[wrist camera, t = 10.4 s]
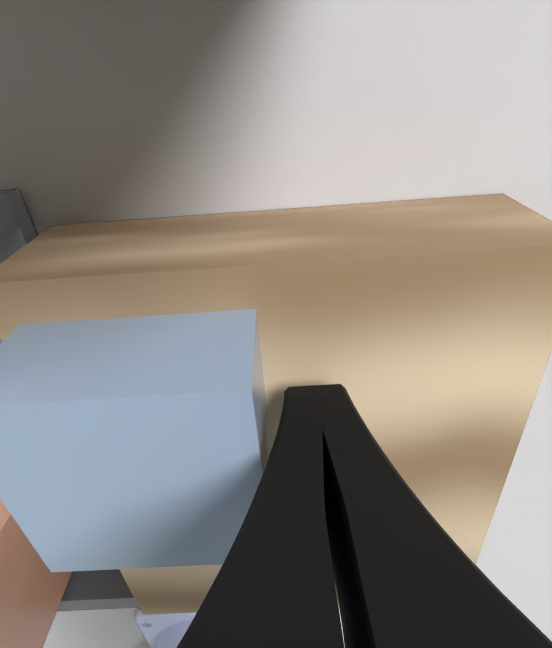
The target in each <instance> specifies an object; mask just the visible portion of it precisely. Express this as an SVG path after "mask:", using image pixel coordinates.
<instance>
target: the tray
mask: <svg viewBox="0 0 552 648" xmlns="http://www.w3.org/2000/svg"><path fill="white" fill-rule="evenodd" d="M36 237H37V234H36V231H35V229H34V226H33V224H32V221H31V219H30V216H29V213H28V211H27V208H26V206H25V203H24V201H23V198H22V196H21V193H20V191H19V189H12V190H0V264H1V263H2V262H3V261H5V260H6V259H7V258H9V257H10V256H11V255H13V254H14V253H15V252H17V251H18V250H20V249H21V248H22V247H24V246H25V245H26V244H28V243H29V242H30V241H32V240H33V239H34V238H36ZM1 343H2V340H1V338H0V344H1ZM116 608H138V605H137V603H136V601H135V599H134V597H133V595H132V593H131V591H130V589H129V587H128V585H127V583H126V581H125V579H124V577H123V576H122V574H121V572H120V570H119V569H114V570H92V571H72V573H71V576H70V579H69V581H68V584H67V586H66V589H65V591H64V594H63V597H62V599H61V602H60V604H59V607H58V609H57V611H71V610H93V609H116Z"/></svg>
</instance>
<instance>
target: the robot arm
mask: <svg viewBox="0 0 552 648" xmlns="http://www.w3.org/2000/svg"><path fill="white" fill-rule="evenodd" d="M335 586H336V588H335ZM336 591H337V595H336ZM337 597H338V601H337ZM338 602H339V608H340V614H341V621H342V627H343V635H344V642H343V636H342V629H341V622H340V615H339V608H338ZM135 620H136V622H137V624H138V626H139V628H140V630H141V632H142V633H143V635H144V637H145V639H146V641H147V643H148V644H149V646H150V648H344V643H345V648H552V641H550V640H549V639H548V638H547V637H546V636H545V635H544V634H543V633H542V632H541V631H540V630H539V629H538V628H537V627H536V626H535V625H534V624H533V623H532V622H531V621H530V620H529V619H528V618H527V617H526V616H525V615H524V614H523V613H522V612H521V611H520V610H519V609H518V608H517V607H516V606H515V605H514V604H513V603H512V602H511V601H510V600H509V599H508V598H507V597H506V596H505V595H504V594H503V593H502V592H501V591H500V590H499V589H498V588H497V587H496V586H495V585H494V584H493V583H492V582H491V581H490V580H489V579H488V578H487V577H486V576H485V574H484V573H483V572H482V571H481V570H480V569H479V568H478V567H477V566H476V565H475V564H474V563H473V562H472V561H471V560H470V558H469V557H468V556H467V555H466V554H465V553H464V552H463V551H462V550H461V548H460V547H459V546H458V545H457V544H456V543H455V542H454V541H453V539H452V538H451V537H450V536H449V535H448V534H447V533H446V532H445V530H444V529H443V528H442V527H441V526H440V524H439V523H438V522H437V521H436V520H435V519H434V517H433V516H432V515H431V514H430V512H429V511H428V510H427V509H426V508H425V506H424V505H423V504H422V503H421V501H420V500H419V499H418V498H417V496H416V495H415V494H414V492H413V491H412V490H411V489H410V487H409V486H408V485H407V483H406V482H405V481H404V479H403V478H402V477H401V475H400V474H399V473H398V471H397V470H396V469H395V467H394V466H393V464H392V463H391V462H390V460H389V459H388V457H387V456H386V454H385V453H384V452H383V450H382V449H381V447H380V446H379V444H378V443H377V441H376V440H375V438H374V437H373V435H372V434H371V432H370V431H369V429H368V428H367V426H366V424H365V423H364V421H363V419H362V418H361V416H360V414H359V413H358V411H357V409H356V408H355V406H354V404H353V402H352V400H351V398H350V396H349V394H348V392H347V390H346V388H345V387H344V386H343V385H341V384H328V385H310V386H292V387H288V388H287V389H286V390H285V391H284V401H283V408H282V413H281V418H280V422H279V426H278V429H277V433H276V437H275V440H274V443H273V446H272V449H271V452H270V455H269V458H268V461H267V464H266V467H265V470H264V473H263V475H262V478H261V480H260V483H259V485H258V488H257V490H256V493H255V495H254V498H253V500H252V503H251V505H250V508H249V510H248V512H247V515H246V517H245V519H244V521H243V524H242V526H241V528H240V530H239V532H238V534H237V537H236V539H235V541H234V543H233V545H232V547H231V549H230V551H229V553H228V555H227V557H226V559H225V561H224V563H223V565H222V567H221V569H220V571H219V573H218V575H217V576H216V578H215V580H214V582H213V584H212V586H211V588H210V589H209V591H208V593H207V595H206V597H205V599H204V601H203V602H202V604H201V606H200V608H199V610H198V612H194V613H172V614H149V615H143V614H142V612H141V611H140V610H139V611H138V612H137V614H136V618H135Z"/></svg>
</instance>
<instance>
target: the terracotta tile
mask: <svg viewBox="0 0 552 648" xmlns="http://www.w3.org/2000/svg"><path fill="white" fill-rule="evenodd" d="M71 573H72V571H71V572H50V570H49V569H48V567H47V566H46V564H45V563H44V561H43V560H42V559H41V557H40V556H39V554H38V553H37V551H36V550H35V548H34V547H33V545H32V544H31V543H30V541H29V540H28V538H27V537H26V535H25V534H24V532H23V531H22V529H21V528H20V527H19V525H18V524H17V522H16V521H15V519H14V518H13V516H12V515H11V513H10V512H9V511H8V509H7V508H6V506H5V505H4V503H3V502H2V500H1V499H0V648H43V645H44V643H45V640H46V637H47V635H48V632H49V630H50V627H51V625H52V622H53V620H54V617H55V614H56V612H57V609H58V607H59V604H60V602H61V599H62V597H63V594H64V591H65V589H66V586H67V584H68V581H69V579H70V576H71Z"/></svg>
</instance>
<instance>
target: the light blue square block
mask: <svg viewBox="0 0 552 648" xmlns="http://www.w3.org/2000/svg"><path fill="white" fill-rule="evenodd" d="M270 452H271V440H270V430H269V421H268V412H267V403H266V393H265V384H264V375H263V365H262V356H261V347H260V338H259V328H258V319H257V310H256V309H249V310H233V311H218V312H202V313H186V314H171V315H155V316H140V317H124V318H108V319H93V320H77V321H62V322H46V323H30V324H19V325H18V326H17V327H16V328H15V329H14V330H13V331H12V332H11V333H10V334H9V335H8V336H7V337H6V338H5V340H4V341H3V342H2V343H1V344H0V499H1V500H2V502H3V503H4V505H5V506H6V508H7V509H8V511H9V512H10V513H11V515H12V516H13V518H14V519H15V521H16V522H17V524H18V525H19V527H20V528H21V529H22V531H23V532H24V534H25V535H26V537H27V538H28V540H29V541H30V543H31V544H32V545H33V547H34V548H35V550H36V551H37V553H38V554H39V556H40V557H41V559H42V560H43V561H44V563H45V564H46V566H47V567H48V569H49V570H50V572H71V571H92V570H114V569H135V568H156V567H177V566H199V565H220V564H223V563H224V561H225V559H226V557H227V555H228V553H229V551H230V549H231V547H232V545H233V543H234V541H235V539H236V537H237V534H238V532H239V530H240V528H241V526H242V524H243V521H244V519H245V517H246V515H247V512H248V510H249V508H250V505H251V503H252V500H253V498H254V495H255V493H256V490H257V488H258V485H259V483H260V480H261V478H262V475H263V473H264V470H265V467H266V464H267V461H268V458H269V455H270Z"/></svg>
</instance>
